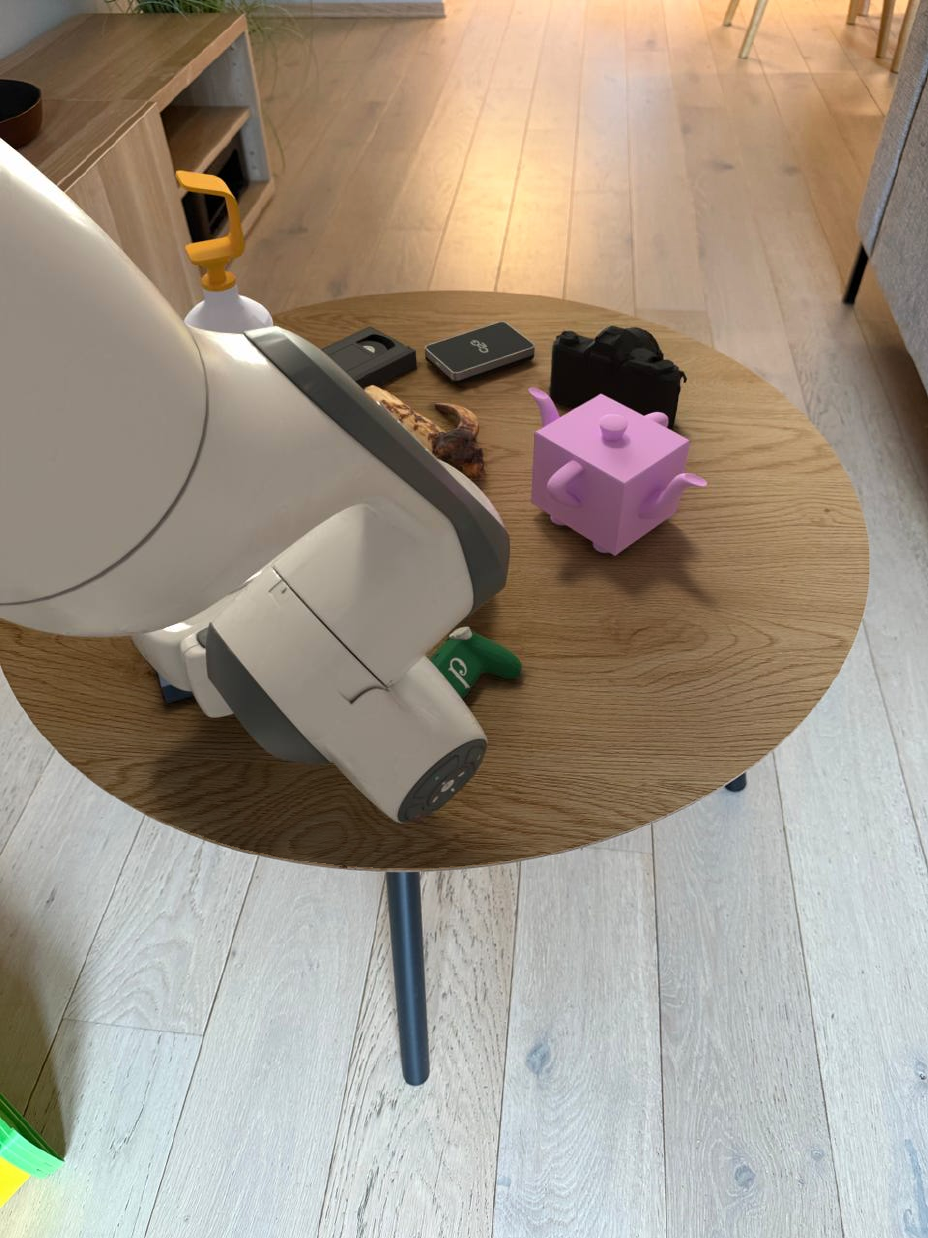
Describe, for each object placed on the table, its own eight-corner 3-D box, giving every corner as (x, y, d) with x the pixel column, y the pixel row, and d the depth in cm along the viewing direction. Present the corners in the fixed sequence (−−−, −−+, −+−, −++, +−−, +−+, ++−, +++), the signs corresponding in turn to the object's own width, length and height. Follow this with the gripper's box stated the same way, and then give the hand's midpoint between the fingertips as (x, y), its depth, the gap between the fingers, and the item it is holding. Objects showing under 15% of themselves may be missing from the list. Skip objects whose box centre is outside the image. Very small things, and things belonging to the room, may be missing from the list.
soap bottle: (194, 398, 104) (136, 165, 86) (275, 379, 106) (234, 149, 88) (212, 442, 98) (154, 202, 80) (297, 421, 100) (258, 184, 83)
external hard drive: (536, 361, 108) (537, 346, 107) (453, 390, 104) (453, 374, 103) (503, 335, 112) (503, 320, 111) (422, 362, 108) (421, 346, 107)
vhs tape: (371, 340, 112) (370, 325, 110) (416, 365, 108) (415, 350, 106) (274, 388, 105) (271, 372, 103) (318, 416, 101) (316, 400, 99)
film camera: (702, 399, 102) (717, 323, 96) (663, 443, 97) (676, 366, 90) (579, 359, 108) (585, 285, 102) (535, 399, 103) (539, 323, 96)
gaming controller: (500, 675, 78) (455, 621, 76) (530, 666, 75) (484, 609, 73) (441, 754, 72) (391, 697, 71) (471, 747, 69) (419, 688, 68)
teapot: (515, 561, 85) (520, 462, 77) (524, 470, 94) (529, 374, 86) (688, 572, 84) (710, 473, 76) (680, 479, 93) (698, 382, 85)
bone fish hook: (526, 463, 96) (413, 387, 105) (530, 424, 92) (413, 348, 101) (456, 499, 91) (345, 417, 100) (458, 459, 88) (342, 377, 97)
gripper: (434, 535, 67) (333, 444, 74) (164, 668, 58) (82, 549, 66) (437, 599, 71) (341, 506, 79) (187, 730, 63) (108, 612, 71)
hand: (221, 527), depth 72 cm, fingers closed on pill bottle, 6 cm apart
